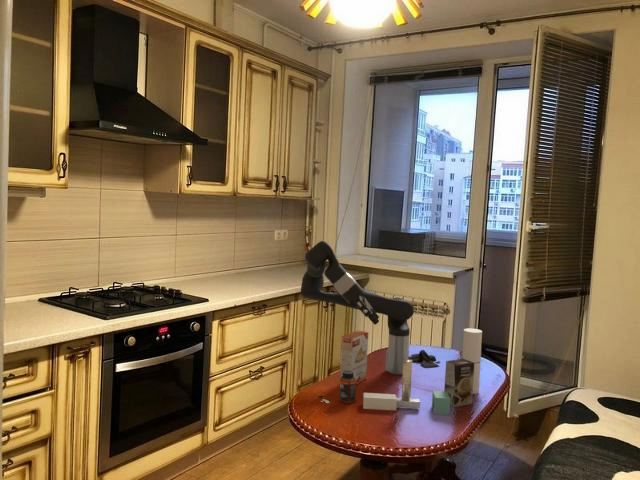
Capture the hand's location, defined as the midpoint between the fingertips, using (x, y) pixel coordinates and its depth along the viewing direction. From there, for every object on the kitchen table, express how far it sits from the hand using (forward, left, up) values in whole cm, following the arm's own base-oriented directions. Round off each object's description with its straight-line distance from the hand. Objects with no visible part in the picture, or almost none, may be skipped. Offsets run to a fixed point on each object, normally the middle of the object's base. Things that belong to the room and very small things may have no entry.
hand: (377, 321), depth 190 cm
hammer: (+6, +3, -31) cm, 32 cm away
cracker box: (-20, +15, -32) cm, 41 cm away
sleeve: (+2, 0, -32) cm, 32 cm away
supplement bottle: (-10, -3, -32) cm, 34 cm away
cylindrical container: (+20, +41, -32) cm, 56 cm away
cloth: (-13, +65, -33) cm, 74 cm away
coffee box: (+22, +25, -32) cm, 46 cm away
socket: (+20, +13, -32) cm, 40 cm away
